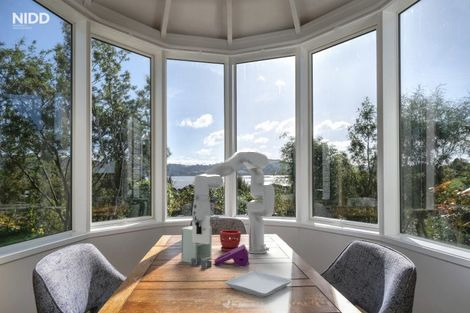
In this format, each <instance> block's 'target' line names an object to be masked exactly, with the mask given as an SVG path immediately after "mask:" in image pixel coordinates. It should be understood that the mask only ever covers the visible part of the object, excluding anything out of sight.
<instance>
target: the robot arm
mask: <svg viewBox="0 0 470 313" xmlns="http://www.w3.org/2000/svg"><path fill="white" fill-rule="evenodd" d="M242 166H244V167H245V168H246V169H247V170H248V171H249V174H250V188H249V189H250V192H249V193H250V196H251V197H252V198H254V199H253V200H250V201H249V202H248V203H247V206H246V210H247V215H248V247H246V249H247V251H248V254H253V255H254V254H256V255H257V254H258V255H259V254H260V255H261V254H264V253H265V254H266V253H267V252H268V251H270V247H269V246H267V245H266V244H265V222H264V219H263V218H264V217H266V218H269V217H272V215H273V214H274V212H275V196H276V195H275V187H274V185H272V184H271V183H267V182H265V174H264V171H263V169H265V168H267V167H268V166H269V158H268V156H267V155H266V154H263V153H261V152H257V151H255V150H251V149H246V150H244V149H243V150H237V151H235V152H234V153H232V154H231V156H229V157H228V158H227V159H226V160H224V161H223V162H221V163H219V164H217V165H215V166H212V167H211V168H210V169H208V170H207V171H205V172H204V173H203V174H196V175H195V176H194V194H193V195H194V196H193V199H194V200H193V203H192V204H193V205H192V210H191V211H192V214H191V215H192V216H191V218H192V220H191V223H192V222H193V223H195V225H196V234H202V227H201V221H203V220H204V216H210V219H211V216H212V214H211V202H210V198H209V197H210V196H209V194H210V189H219V188H221V187H222V186H223V184H224V179H223V177H228V176H230V175H233V174H235V173H236V172H237V171H238V170H239V169H240V168H241V167H242ZM255 198H256V199H255ZM258 199H259V200H258ZM260 199H262V200H260ZM198 222H199V223H198Z"/></svg>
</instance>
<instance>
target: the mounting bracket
mask: <svg viewBox="0 0 470 313" xmlns="http://www.w3.org/2000/svg"><path fill="white" fill-rule="evenodd" d="M230 260H233V262H234V264H235V266H237V267H241V268H242V267H246V266H247V265H248V264H249V262H250V261H249V260H250V257H249V253H248V251H247V247H246V245H245V243H244V244H243V243H242V245H239V246H238V247H237V248H235V249H233V250H231V251H229V252H225V253H223V254H221V255H219V256H218V257H216V258H215V259H214V260H213V262H214V264H215V265H216V266H218V265H219V266H220V265H222V264H224V263H226V262H228V261H230Z"/></svg>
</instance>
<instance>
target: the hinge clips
mask: <svg viewBox="0 0 470 313" xmlns="http://www.w3.org/2000/svg"><path fill="white" fill-rule="evenodd" d="M212 262H213V261H212V260H210V259H208V260H205V261H204V260H201V259H200V258H197V263H196V259H195V258H191V263H190V265H191V267H193V268H195V267H199V266H201V268H200V269H201V270H207V269H209V268H212V267H213V266H212V265H213V264H212Z"/></svg>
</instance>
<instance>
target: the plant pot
mask: <svg viewBox="0 0 470 313" xmlns="http://www.w3.org/2000/svg"><path fill="white" fill-rule="evenodd" d="M241 235H242V233H241V231H240V230H236V229H235V230H233V229H226V230H220V232H219V241H220V244H221V247H220V249H221V251H223V252H225V253H227V252H229V251H231V250H233V249H235V248H237V247H239V246H240V244H241V243H240V242H241V239H242V238H241Z"/></svg>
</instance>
